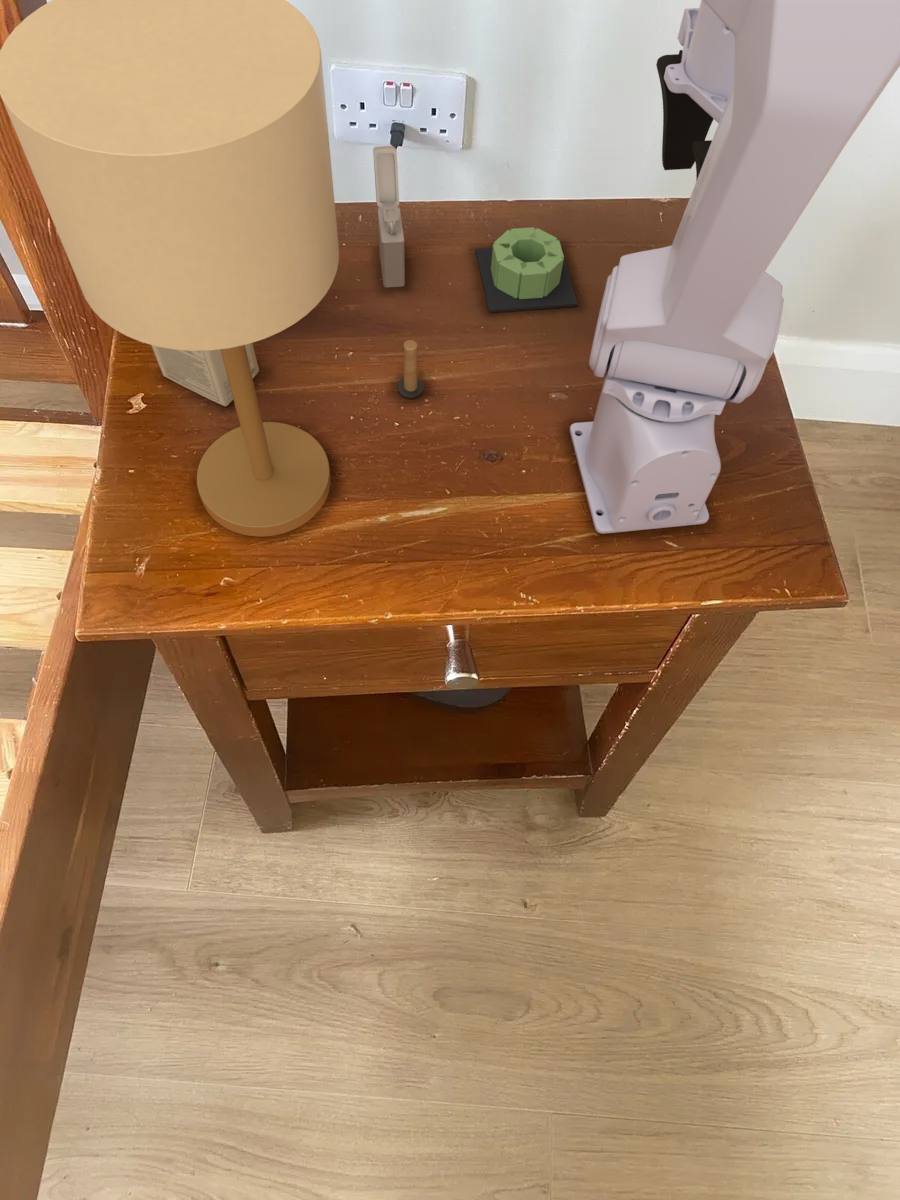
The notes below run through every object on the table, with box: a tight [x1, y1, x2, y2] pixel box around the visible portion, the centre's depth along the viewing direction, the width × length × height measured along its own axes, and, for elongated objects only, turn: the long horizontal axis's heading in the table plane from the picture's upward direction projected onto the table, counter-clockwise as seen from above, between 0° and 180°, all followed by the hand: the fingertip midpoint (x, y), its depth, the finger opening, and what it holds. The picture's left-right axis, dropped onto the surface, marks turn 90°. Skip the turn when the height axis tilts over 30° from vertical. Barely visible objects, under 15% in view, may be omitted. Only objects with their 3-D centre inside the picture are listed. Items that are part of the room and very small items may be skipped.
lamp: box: [0, 0, 340, 538], centre depth 49 cm, size 13×13×29 cm
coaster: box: [474, 243, 578, 314], centre depth 72 cm, size 7×7×1 cm
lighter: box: [372, 145, 406, 288], centre depth 70 cm, size 7×2×8 cm, turn 7°
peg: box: [396, 339, 425, 400], centre depth 64 cm, size 2×2×4 cm
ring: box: [491, 226, 565, 299], centre depth 71 cm, size 5×5×2 cm
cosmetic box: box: [151, 342, 260, 407], centre depth 61 cm, size 6×4×12 cm
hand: (690, 200), depth 63 cm, fingers open, 7 cm apart
